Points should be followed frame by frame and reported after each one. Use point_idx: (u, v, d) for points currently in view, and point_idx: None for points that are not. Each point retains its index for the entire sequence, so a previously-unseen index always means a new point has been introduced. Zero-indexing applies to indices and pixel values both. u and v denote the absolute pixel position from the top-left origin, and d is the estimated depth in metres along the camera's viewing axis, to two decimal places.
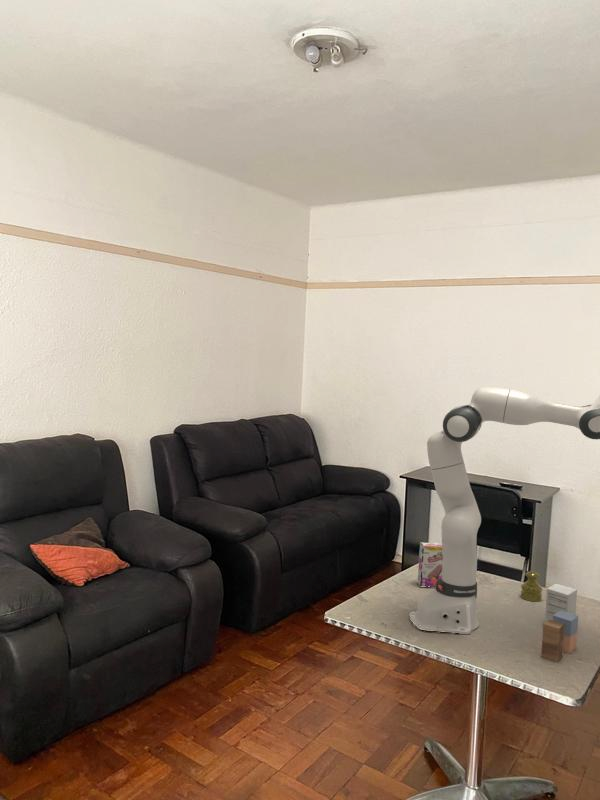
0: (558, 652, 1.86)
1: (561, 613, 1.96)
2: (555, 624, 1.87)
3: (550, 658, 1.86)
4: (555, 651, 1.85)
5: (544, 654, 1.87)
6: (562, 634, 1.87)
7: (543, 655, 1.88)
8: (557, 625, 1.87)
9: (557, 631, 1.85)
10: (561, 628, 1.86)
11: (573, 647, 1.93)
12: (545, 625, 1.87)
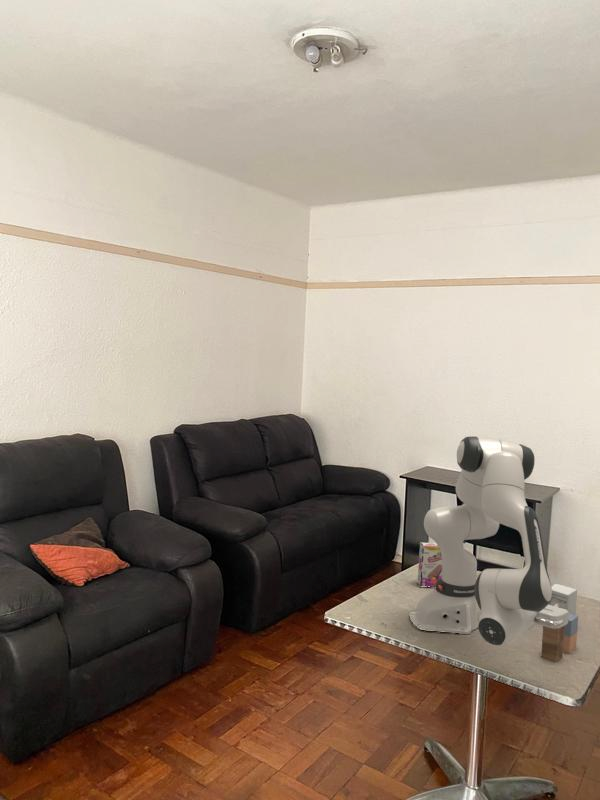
0: (558, 652, 1.86)
1: None
2: None
3: (550, 658, 1.86)
4: (555, 651, 1.85)
5: (544, 654, 1.87)
6: (562, 634, 1.87)
7: (543, 655, 1.88)
8: None
9: (557, 631, 1.85)
10: (561, 628, 1.86)
11: (573, 647, 1.93)
12: (545, 626, 1.87)
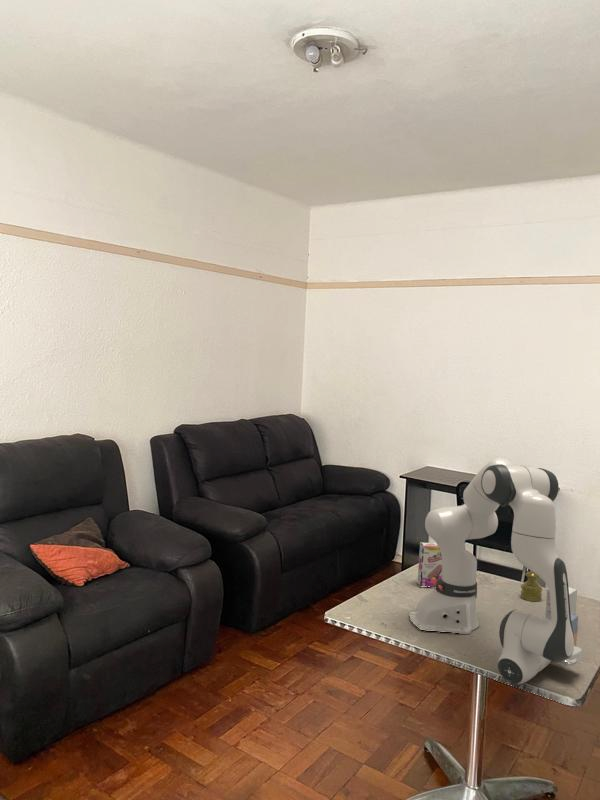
0: None
1: None
2: None
3: None
4: None
5: None
6: None
7: None
8: None
9: None
10: None
11: None
12: None
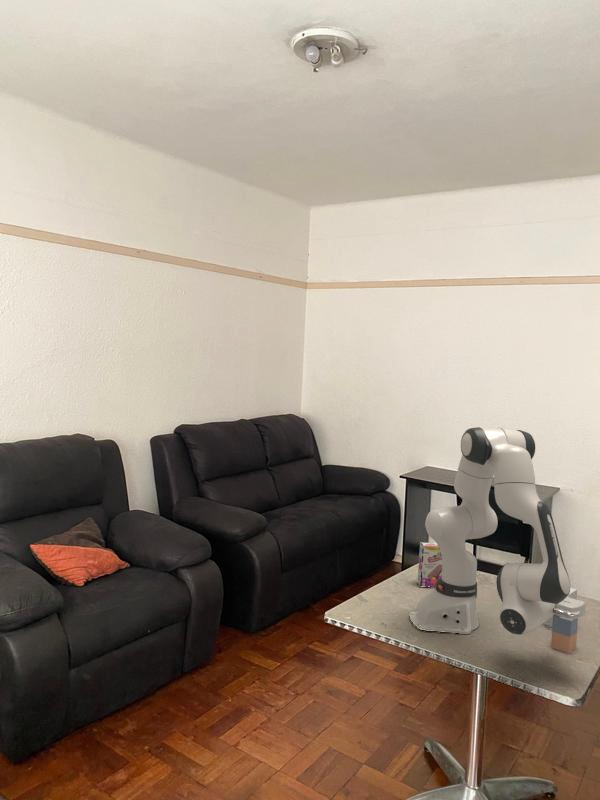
0: None
1: None
2: None
3: None
4: None
5: None
6: None
7: None
8: None
9: None
10: None
11: (573, 647, 1.93)
12: None
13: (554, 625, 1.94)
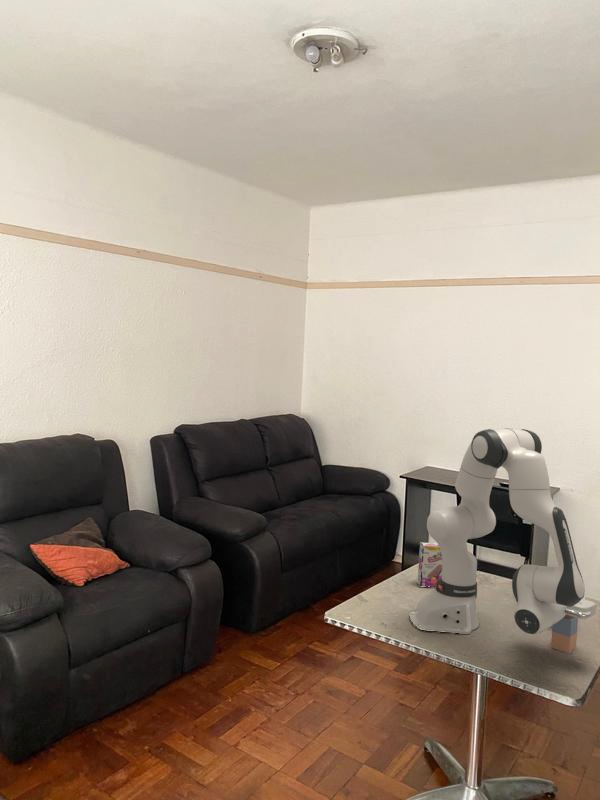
0: None
1: None
2: None
3: None
4: None
5: None
6: None
7: None
8: None
9: None
10: None
11: (573, 647, 1.93)
12: None
13: (554, 625, 1.94)
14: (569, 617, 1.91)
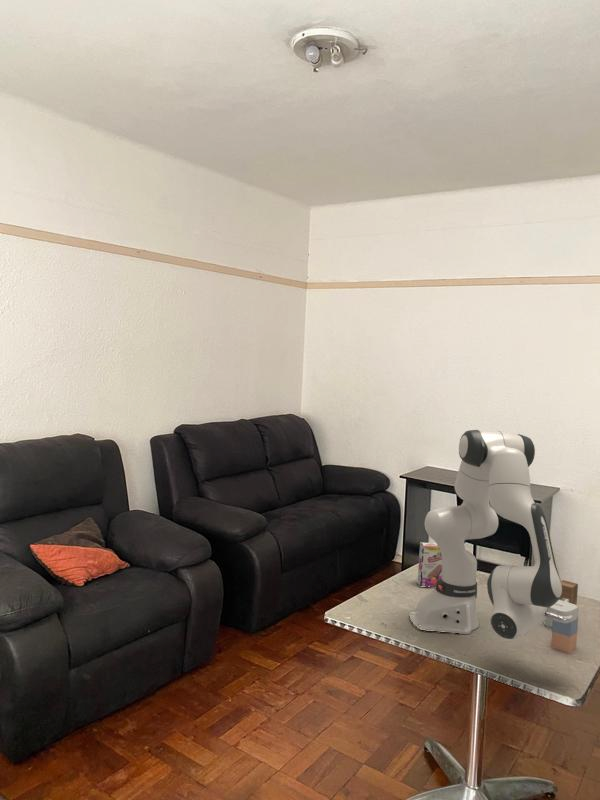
0: None
1: None
2: (569, 583, 1.93)
3: None
4: None
5: None
6: (575, 593, 1.93)
7: None
8: (571, 584, 1.93)
9: (571, 590, 1.90)
10: (575, 587, 1.92)
11: (573, 647, 1.93)
12: None
13: (554, 625, 1.94)
14: None
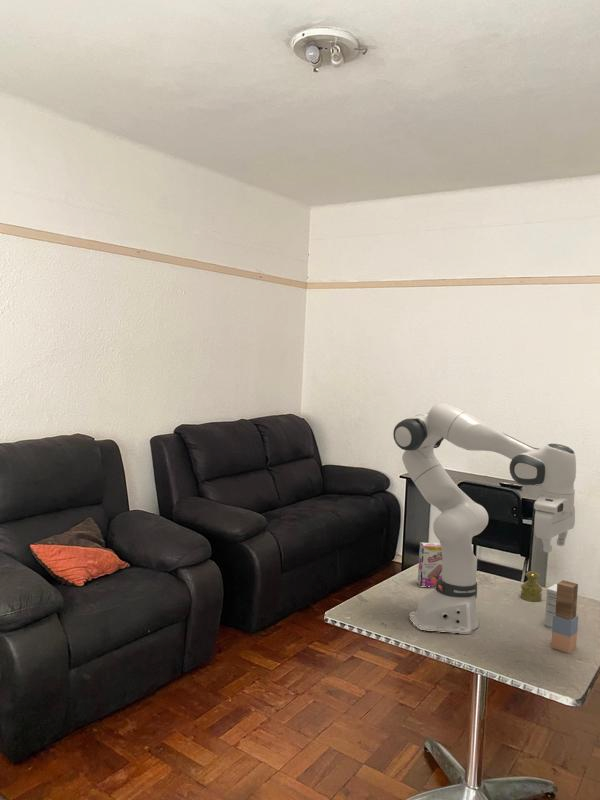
0: (572, 611, 1.91)
1: None
2: (569, 584, 1.93)
3: (564, 617, 1.92)
4: (569, 610, 1.91)
5: (558, 613, 1.93)
6: (576, 593, 1.93)
7: (557, 614, 1.93)
8: (571, 584, 1.93)
9: (571, 590, 1.90)
10: (575, 587, 1.92)
11: (573, 647, 1.93)
12: (559, 585, 1.93)
13: (554, 625, 1.94)
14: (569, 617, 1.91)
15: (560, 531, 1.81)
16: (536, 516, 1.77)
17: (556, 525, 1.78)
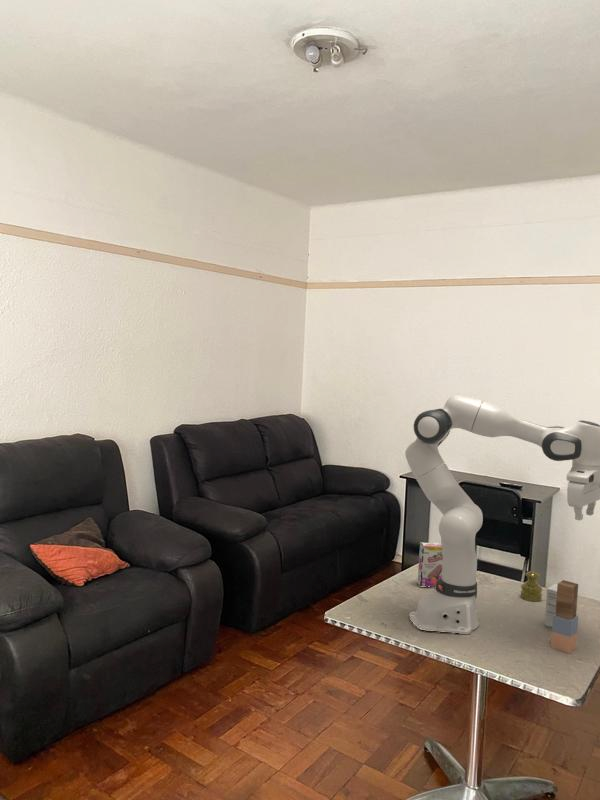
0: (572, 611, 1.91)
1: None
2: (569, 584, 1.93)
3: (564, 616, 1.92)
4: (569, 610, 1.91)
5: (558, 613, 1.93)
6: (576, 593, 1.93)
7: (558, 614, 1.93)
8: (571, 584, 1.93)
9: (571, 590, 1.90)
10: (575, 587, 1.92)
11: (573, 647, 1.93)
12: (560, 585, 1.93)
13: (554, 625, 1.94)
14: (569, 617, 1.91)
15: (590, 501, 1.96)
16: (569, 486, 1.92)
17: (587, 494, 1.93)
